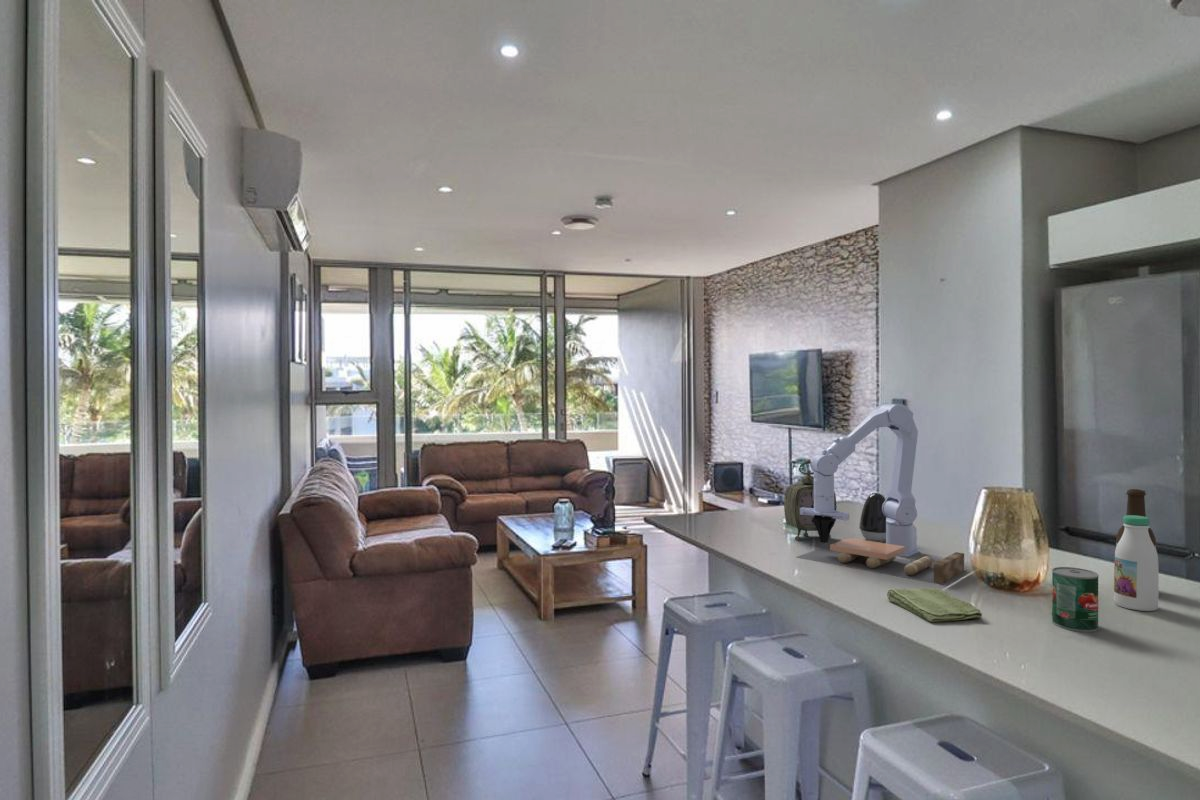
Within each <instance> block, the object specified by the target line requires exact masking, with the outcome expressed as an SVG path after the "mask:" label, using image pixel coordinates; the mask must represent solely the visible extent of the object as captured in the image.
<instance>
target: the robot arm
mask: <svg viewBox="0 0 1200 800" xmlns="http://www.w3.org/2000/svg"><path fill="white" fill-rule="evenodd" d="M879 428H880V429H881V428H889V429H890V430H891V431H892V432H893V434H895V436H896V443H895V444H896V445H895V455H894V462H893V471H892V479H891V486H890V487H891V489H889V491H888V492H887V493H886V497H885V499H886V500H885V501H884V503H883V505H882V512H883V514H884V515H885V516H886V541H885V543H887V544H893V545H899V546H905V552H904V553H901V554H899V555H898V556H900V557H906V558H907V557H910V556H913V555H915V554H917V553H920V552H921V549H918V545H917V543H918V542H917V540H918V539H917V537H918V534H917V533H918V531H917V527H916V526H915V524H914V522H915V521H916V520H917V517H918V511H917V507H916V499H915V497H914V495H913V493H912V488H913V478H914V471H915V462H916V461H915V460H916V452H917V444H918V435H919V431H918V429H917V425H916V423H915V420H914V412H913V411H912V410H911V409H910V408H909V407H908V406H906V404H903V403H897V404H896V403H893V404H892V403H887V402H885V403H882V404H880V405H878V406H877V408H874V409H873V410H872V411H871V412H870V413H869V414H868V415H867V417H865V418H864V420H863V421H861V422H860V423H859V424H858V425H857V426H856V427H855V428H854V429H853V430H852V431H851V432H850V433H849V434H848V435H847V436H839V437H835V438H834V439H833V442H832V443H831V444H830V445H829V446H828V447H827V448H826V449H825V448H824V449H822V450H821V453H822V454H821V453H818V454H817V455H814V457H813V458H812V459H811V461H810V462H811V463H810V464H809V466H810V469H811V470H812V472H814V474H813V477H814V508H805V507H803V508H800V515H811V516H814V518H812V521H813V523H814V524H815V526H816V529H817V531H816V532H817V533H818V536H819V540H820V543H822V544H823V543H828V542H829V540H830V539H829V535H830V534H831V531H832V529H833V528H834V526H835V523H836V521H837V520H841V521H842V520H843V522H844V521H845V522H846V521H850V513H848V512H844V511H839V510H836V511H835V510H834V492H835V473H837V471H838V468H839V465H840V464H842V463H843V462H844V461H846V459H848V458H849V457H850V456H851V455H852V454H853V453H854V452H855V451H856V445H857V444H858V443H860V442H861V441H862V440H863V439H864V438H866V437H867V436H869V435H870V434H871V433H873V432H874V431H875V430H877V429H879ZM826 515H828V516H826ZM833 525H834V526H833Z"/></svg>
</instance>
